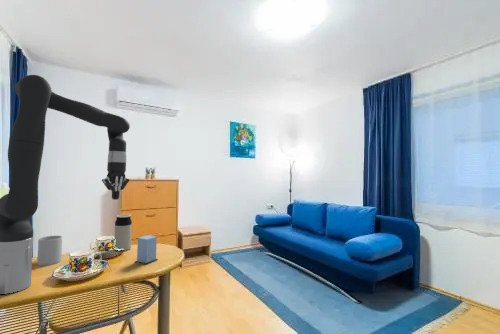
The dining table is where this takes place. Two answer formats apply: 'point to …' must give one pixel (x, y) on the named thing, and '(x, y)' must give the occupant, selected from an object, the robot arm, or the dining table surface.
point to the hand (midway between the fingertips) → (115, 199)
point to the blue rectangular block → (146, 248)
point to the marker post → (145, 263)
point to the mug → (49, 250)
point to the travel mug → (123, 231)
